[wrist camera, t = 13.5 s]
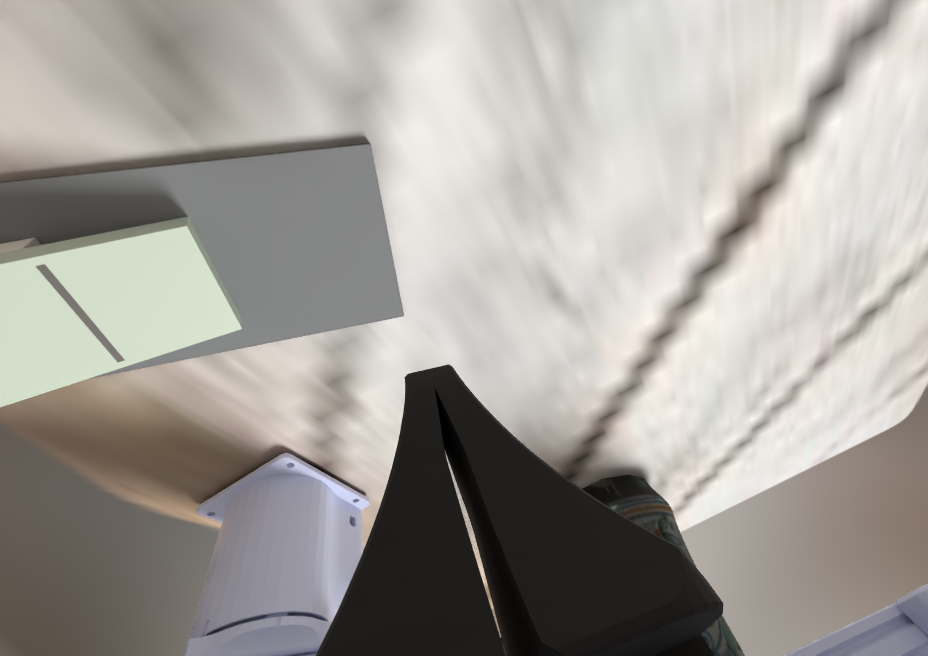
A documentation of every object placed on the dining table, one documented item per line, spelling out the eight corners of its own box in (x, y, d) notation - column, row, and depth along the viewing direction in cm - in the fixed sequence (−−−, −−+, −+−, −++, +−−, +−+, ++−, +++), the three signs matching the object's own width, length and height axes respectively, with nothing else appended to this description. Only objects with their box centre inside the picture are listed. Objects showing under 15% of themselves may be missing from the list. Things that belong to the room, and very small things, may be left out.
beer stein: (663, 456, 41) (963, 806, 21) (635, 531, 52) (812, 803, 32) (532, 502, 38) (730, 946, 18) (533, 570, 50) (656, 889, 30)
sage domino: (186, 226, 14) (-175, 300, 10) (242, 329, 17) (-23, 415, 13) (187, 216, 15) (-136, 279, 11) (239, 314, 18) (-5, 389, 14)
